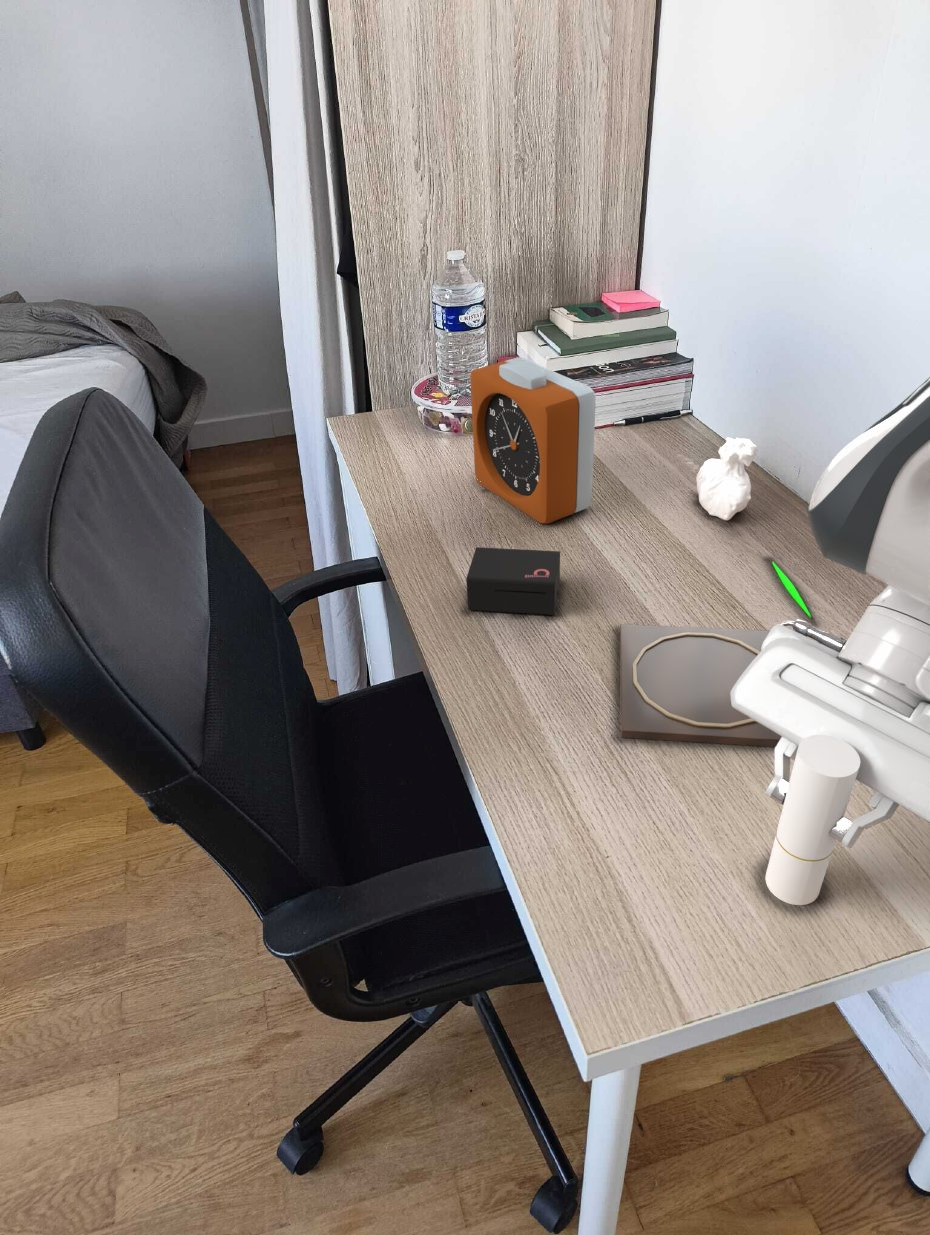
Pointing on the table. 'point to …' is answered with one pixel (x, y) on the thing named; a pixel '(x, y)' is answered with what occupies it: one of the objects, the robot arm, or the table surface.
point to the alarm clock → (533, 438)
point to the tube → (811, 817)
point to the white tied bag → (726, 479)
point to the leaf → (791, 588)
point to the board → (687, 684)
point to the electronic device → (513, 580)
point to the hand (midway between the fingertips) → (807, 820)
